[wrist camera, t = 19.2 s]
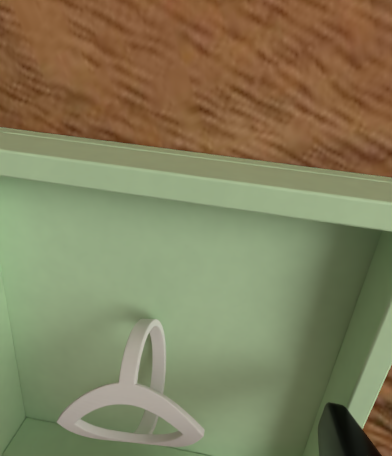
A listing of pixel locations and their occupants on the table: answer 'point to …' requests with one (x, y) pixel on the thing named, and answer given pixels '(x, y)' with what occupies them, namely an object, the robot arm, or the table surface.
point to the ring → (136, 397)
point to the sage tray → (188, 293)
